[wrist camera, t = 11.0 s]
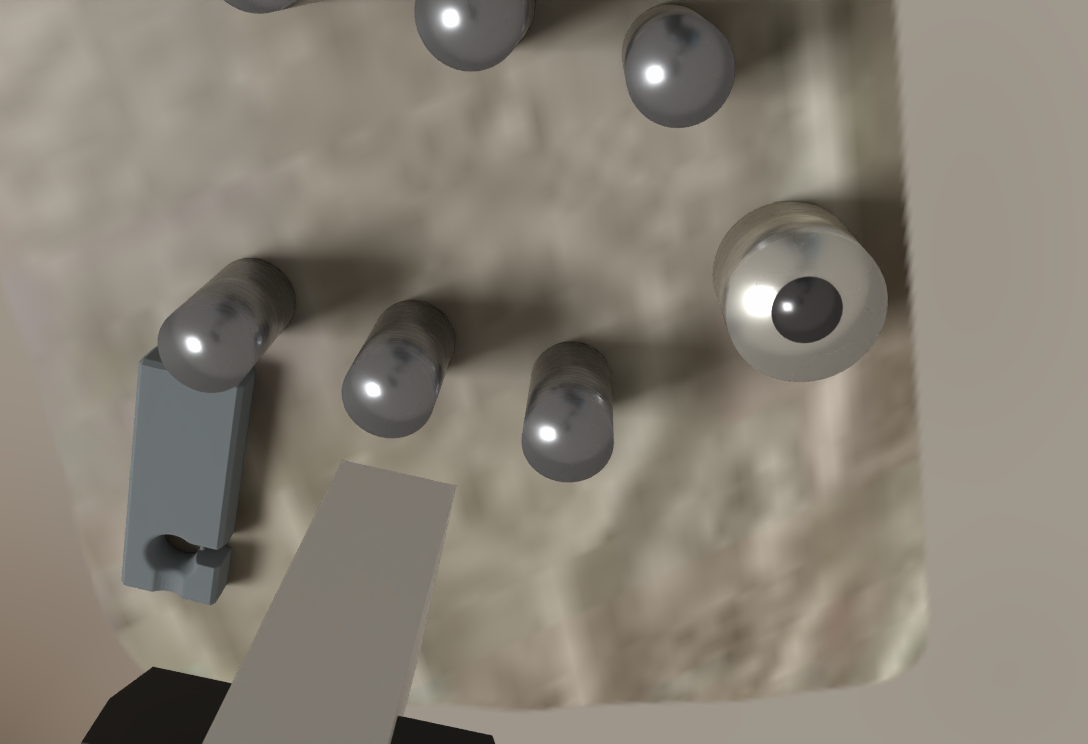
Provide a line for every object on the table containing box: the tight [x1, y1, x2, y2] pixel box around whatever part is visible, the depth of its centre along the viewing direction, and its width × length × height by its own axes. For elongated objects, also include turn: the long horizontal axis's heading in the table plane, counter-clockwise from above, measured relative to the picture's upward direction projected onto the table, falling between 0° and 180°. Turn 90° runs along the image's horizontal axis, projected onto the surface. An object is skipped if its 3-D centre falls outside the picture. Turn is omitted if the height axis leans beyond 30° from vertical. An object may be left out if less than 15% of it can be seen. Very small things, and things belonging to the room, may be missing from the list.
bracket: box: [121, 346, 255, 605], centre depth 38 cm, size 4×10×2 cm, turn 166°
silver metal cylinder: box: [713, 201, 888, 382], centre depth 32 cm, size 5×5×4 cm
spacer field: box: [158, 0, 735, 482], centre depth 31 cm, size 15×15×5 cm
